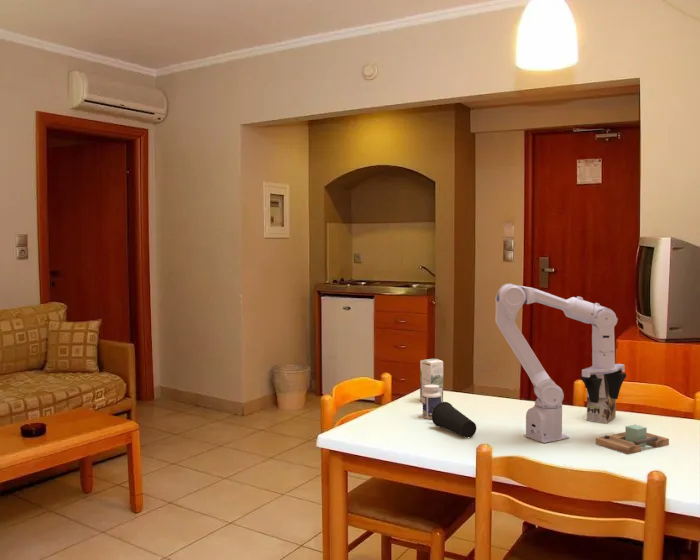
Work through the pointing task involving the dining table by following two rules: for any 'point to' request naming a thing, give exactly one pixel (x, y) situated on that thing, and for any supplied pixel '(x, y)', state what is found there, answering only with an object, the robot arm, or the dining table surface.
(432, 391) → the pill bottle
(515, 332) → the robot arm
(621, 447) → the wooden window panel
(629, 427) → the green block
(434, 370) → the syrup box
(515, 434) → the dining table surface
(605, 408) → the coffee box
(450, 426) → the drinking cup
